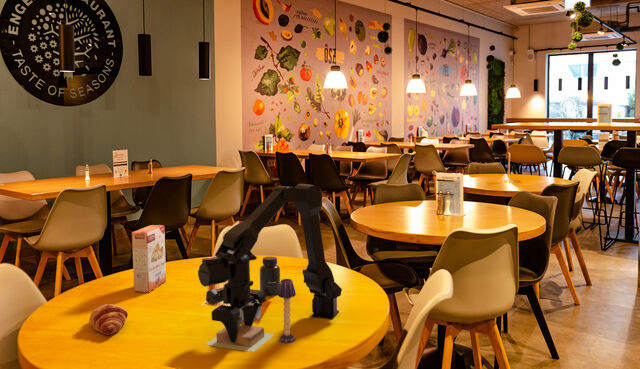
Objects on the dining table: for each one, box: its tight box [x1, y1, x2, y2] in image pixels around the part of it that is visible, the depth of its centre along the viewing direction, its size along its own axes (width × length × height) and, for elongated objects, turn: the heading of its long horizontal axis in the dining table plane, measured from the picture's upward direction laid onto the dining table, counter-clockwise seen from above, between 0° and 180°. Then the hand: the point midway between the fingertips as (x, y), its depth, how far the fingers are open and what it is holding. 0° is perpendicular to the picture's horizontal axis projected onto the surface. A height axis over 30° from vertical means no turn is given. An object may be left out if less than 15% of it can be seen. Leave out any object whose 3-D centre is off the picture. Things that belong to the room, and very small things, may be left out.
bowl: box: [239, 300, 262, 322], centre depth 165 cm, size 8×8×4 cm
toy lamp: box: [277, 278, 297, 344], centre depth 146 cm, size 5×5×17 cm
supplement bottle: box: [259, 256, 281, 297], centre depth 188 cm, size 7×7×12 cm
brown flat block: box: [216, 323, 265, 347], centre depth 147 cm, size 10×7×2 cm
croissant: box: [89, 303, 129, 336], centre depth 160 cm, size 21×10×8 cm, turn 25°
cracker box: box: [131, 224, 167, 293], centre depth 196 cm, size 14×6×21 cm, turn 171°
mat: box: [204, 332, 276, 353], centre depth 148 cm, size 14×12×1 cm
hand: (240, 336), depth 147 cm, fingers closed on brown flat block, 7 cm apart
